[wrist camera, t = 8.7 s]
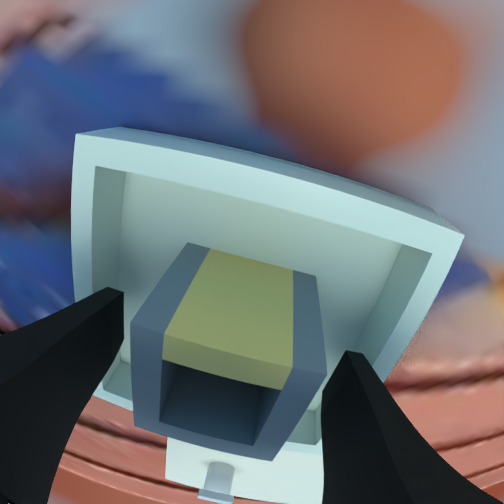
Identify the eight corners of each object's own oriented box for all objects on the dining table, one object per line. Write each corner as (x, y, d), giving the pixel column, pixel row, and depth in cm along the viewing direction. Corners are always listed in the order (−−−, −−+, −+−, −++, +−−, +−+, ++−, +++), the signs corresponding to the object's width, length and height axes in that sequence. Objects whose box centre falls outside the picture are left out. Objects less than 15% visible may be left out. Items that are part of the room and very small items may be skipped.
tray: (112, 358, 14) (89, 393, 12) (119, 126, 10) (76, 133, 7) (323, 413, 14) (325, 455, 12) (430, 207, 10) (464, 235, 7)
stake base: (168, 468, 19) (156, 505, 16) (174, 397, 15) (154, 450, 12) (341, 496, 19) (342, 531, 16) (410, 436, 15) (421, 482, 12)
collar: (279, 366, 12) (272, 461, 8) (174, 339, 12) (134, 425, 8) (315, 275, 10) (327, 374, 6) (187, 242, 10) (129, 322, 6)
